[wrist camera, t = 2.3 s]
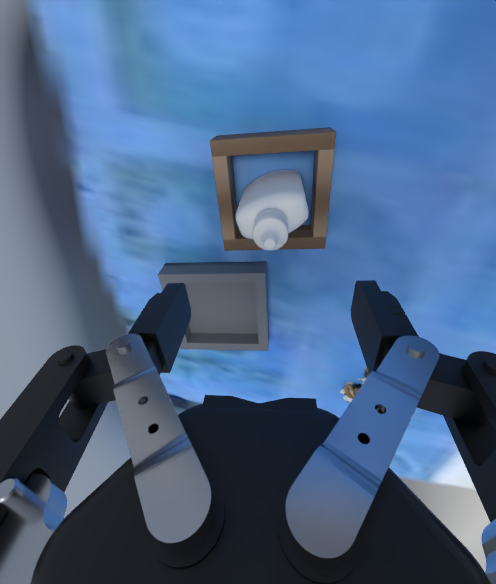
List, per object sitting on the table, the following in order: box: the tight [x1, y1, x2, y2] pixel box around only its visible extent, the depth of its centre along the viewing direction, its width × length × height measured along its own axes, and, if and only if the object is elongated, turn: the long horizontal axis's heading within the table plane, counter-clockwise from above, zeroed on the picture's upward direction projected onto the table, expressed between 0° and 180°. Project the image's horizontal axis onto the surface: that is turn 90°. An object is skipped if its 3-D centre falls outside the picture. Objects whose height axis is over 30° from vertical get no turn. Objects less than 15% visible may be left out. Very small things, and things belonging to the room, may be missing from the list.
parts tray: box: [158, 262, 269, 351], centre depth 35 cm, size 12×12×2 cm
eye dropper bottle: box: [236, 170, 309, 251], centre depth 23 cm, size 4×6×12 cm
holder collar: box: [210, 128, 336, 251], centre depth 26 cm, size 10×10×3 cm
